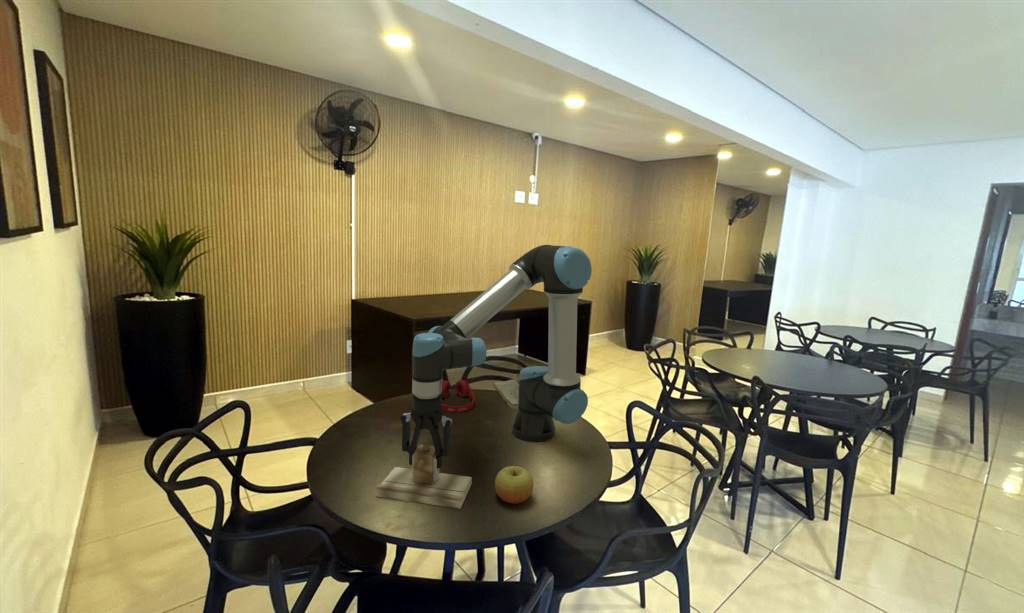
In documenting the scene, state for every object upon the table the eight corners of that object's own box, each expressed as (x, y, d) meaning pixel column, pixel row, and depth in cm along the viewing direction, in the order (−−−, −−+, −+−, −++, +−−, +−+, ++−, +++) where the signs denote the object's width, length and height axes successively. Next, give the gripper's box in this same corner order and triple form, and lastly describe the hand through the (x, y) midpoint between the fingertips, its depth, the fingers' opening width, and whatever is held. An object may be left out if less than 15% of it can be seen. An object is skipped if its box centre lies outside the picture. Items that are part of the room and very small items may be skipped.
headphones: (434, 392, 181) (437, 419, 163) (435, 377, 179) (438, 402, 161) (469, 391, 185) (476, 417, 166) (470, 376, 183) (477, 401, 164)
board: (471, 483, 118) (471, 474, 117) (460, 508, 107) (460, 498, 107) (394, 473, 121) (394, 464, 121) (376, 496, 110) (376, 486, 110)
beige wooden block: (437, 474, 117) (438, 443, 116) (428, 490, 110) (429, 457, 108) (420, 471, 118) (420, 440, 116) (409, 487, 111) (409, 454, 109)
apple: (502, 513, 106) (504, 483, 105) (488, 491, 115) (490, 463, 114) (538, 504, 110) (540, 476, 109) (522, 484, 119) (523, 457, 118)
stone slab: (515, 406, 165) (491, 378, 192) (514, 417, 166) (490, 387, 193) (544, 403, 169) (517, 376, 197) (544, 413, 170) (516, 384, 197)
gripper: (465, 392, 114) (462, 473, 117) (399, 385, 116) (399, 465, 120) (457, 402, 106) (454, 489, 110) (387, 395, 109) (387, 480, 113)
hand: (425, 476), depth 115 cm, fingers closed on beige wooden block, 5 cm apart
